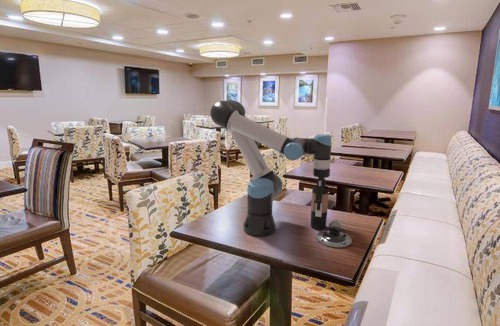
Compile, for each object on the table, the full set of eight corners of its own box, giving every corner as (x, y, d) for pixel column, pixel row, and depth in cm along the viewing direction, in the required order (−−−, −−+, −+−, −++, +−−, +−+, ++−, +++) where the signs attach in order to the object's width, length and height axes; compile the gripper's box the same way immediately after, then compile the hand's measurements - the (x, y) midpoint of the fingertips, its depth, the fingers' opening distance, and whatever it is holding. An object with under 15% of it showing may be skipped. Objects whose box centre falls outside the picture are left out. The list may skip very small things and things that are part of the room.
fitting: (314, 244, 134) (315, 232, 133) (319, 225, 154) (320, 214, 153) (351, 250, 130) (352, 237, 129) (351, 229, 150) (352, 218, 149)
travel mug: (326, 230, 148) (329, 190, 144) (309, 229, 150) (312, 188, 146) (325, 224, 156) (328, 185, 151) (310, 223, 157) (312, 184, 153)
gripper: (328, 174, 134) (325, 221, 138) (331, 163, 157) (329, 203, 161) (310, 173, 136) (308, 219, 140) (316, 162, 159) (314, 202, 164)
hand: (319, 211), depth 151 cm, fingers open, 13 cm apart
